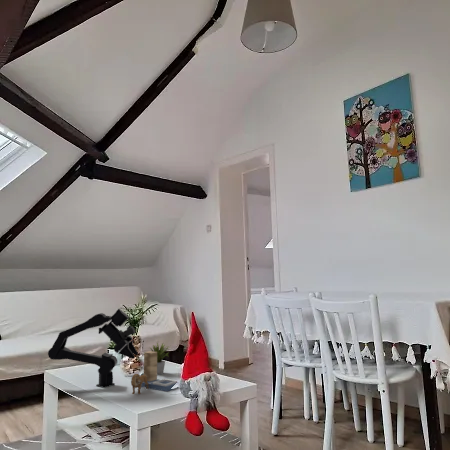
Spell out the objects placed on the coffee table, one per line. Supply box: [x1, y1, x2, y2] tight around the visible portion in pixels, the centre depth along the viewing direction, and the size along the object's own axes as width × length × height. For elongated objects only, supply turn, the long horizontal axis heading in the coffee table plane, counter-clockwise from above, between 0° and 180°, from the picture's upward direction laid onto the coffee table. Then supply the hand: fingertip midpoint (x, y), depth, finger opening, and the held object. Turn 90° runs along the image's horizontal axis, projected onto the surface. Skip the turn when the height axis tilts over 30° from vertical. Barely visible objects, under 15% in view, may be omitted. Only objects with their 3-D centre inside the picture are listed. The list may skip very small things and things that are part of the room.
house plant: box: [149, 342, 173, 375], centre depth 218 cm, size 14×14×16 cm
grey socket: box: [153, 378, 178, 387], centre depth 188 cm, size 8×8×1 cm
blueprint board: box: [141, 378, 176, 392], centre depth 190 cm, size 19×9×2 cm, turn 56°
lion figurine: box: [130, 373, 150, 395], centre depth 182 cm, size 15×5×9 cm, turn 174°
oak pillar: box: [143, 350, 158, 381], centre depth 196 cm, size 4×4×13 cm
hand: (135, 356), depth 196 cm, fingers open, 9 cm apart
